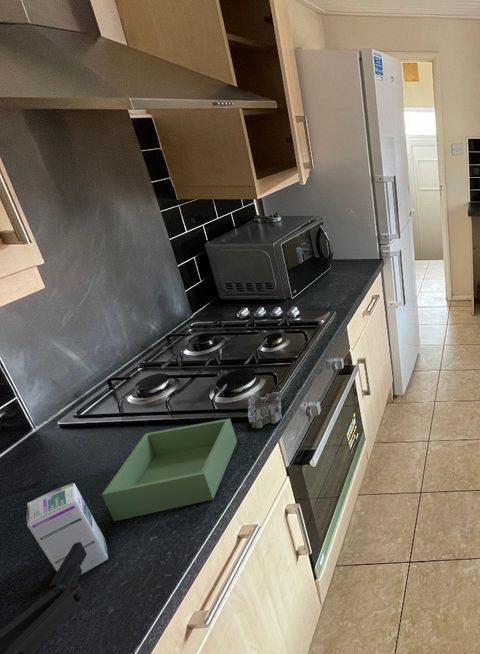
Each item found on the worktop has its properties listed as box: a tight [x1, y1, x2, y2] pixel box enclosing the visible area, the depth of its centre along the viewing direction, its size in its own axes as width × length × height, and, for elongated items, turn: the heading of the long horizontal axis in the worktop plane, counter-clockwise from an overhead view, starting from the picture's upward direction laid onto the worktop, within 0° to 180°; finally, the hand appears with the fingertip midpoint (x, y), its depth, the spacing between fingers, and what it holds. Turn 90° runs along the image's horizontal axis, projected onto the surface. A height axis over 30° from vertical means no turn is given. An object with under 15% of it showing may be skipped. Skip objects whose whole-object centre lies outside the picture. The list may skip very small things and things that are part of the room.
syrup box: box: [26, 482, 109, 575], centre depth 70 cm, size 6×6×14 cm
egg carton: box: [247, 391, 283, 429], centre depth 108 cm, size 11×8×4 cm
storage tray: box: [101, 418, 238, 522], centre depth 89 cm, size 17×17×7 cm
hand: (20, 565), depth 60 cm, fingers open, 13 cm apart
